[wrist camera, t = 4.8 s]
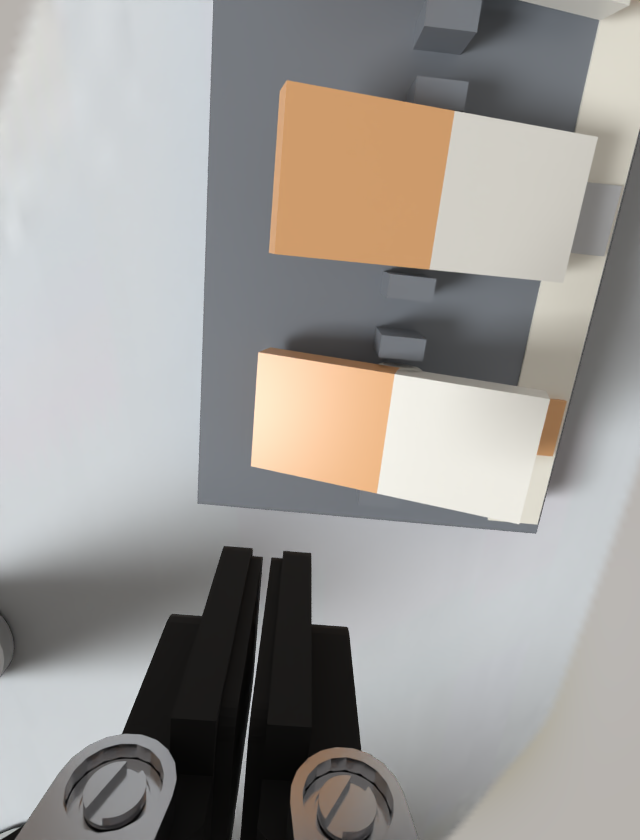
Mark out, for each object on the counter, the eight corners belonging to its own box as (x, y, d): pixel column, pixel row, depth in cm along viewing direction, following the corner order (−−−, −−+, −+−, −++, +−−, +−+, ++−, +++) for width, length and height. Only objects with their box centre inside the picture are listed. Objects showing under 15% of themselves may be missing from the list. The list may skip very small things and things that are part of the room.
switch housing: (512, 502, 26) (555, 558, 22) (211, 475, 26) (186, 526, 21) (673, -174, 18) (798, -321, 14) (238, -233, 18) (209, -407, 13)
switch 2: (515, 500, 20) (519, 524, 18) (269, 449, 22) (250, 466, 21) (543, 385, 19) (550, 399, 17) (277, 344, 21) (258, 352, 19)
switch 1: (529, 278, 20) (563, 283, 18) (265, 251, 18) (274, 254, 16) (557, 146, 19) (597, 137, 17) (275, 97, 16) (286, 80, 14)
